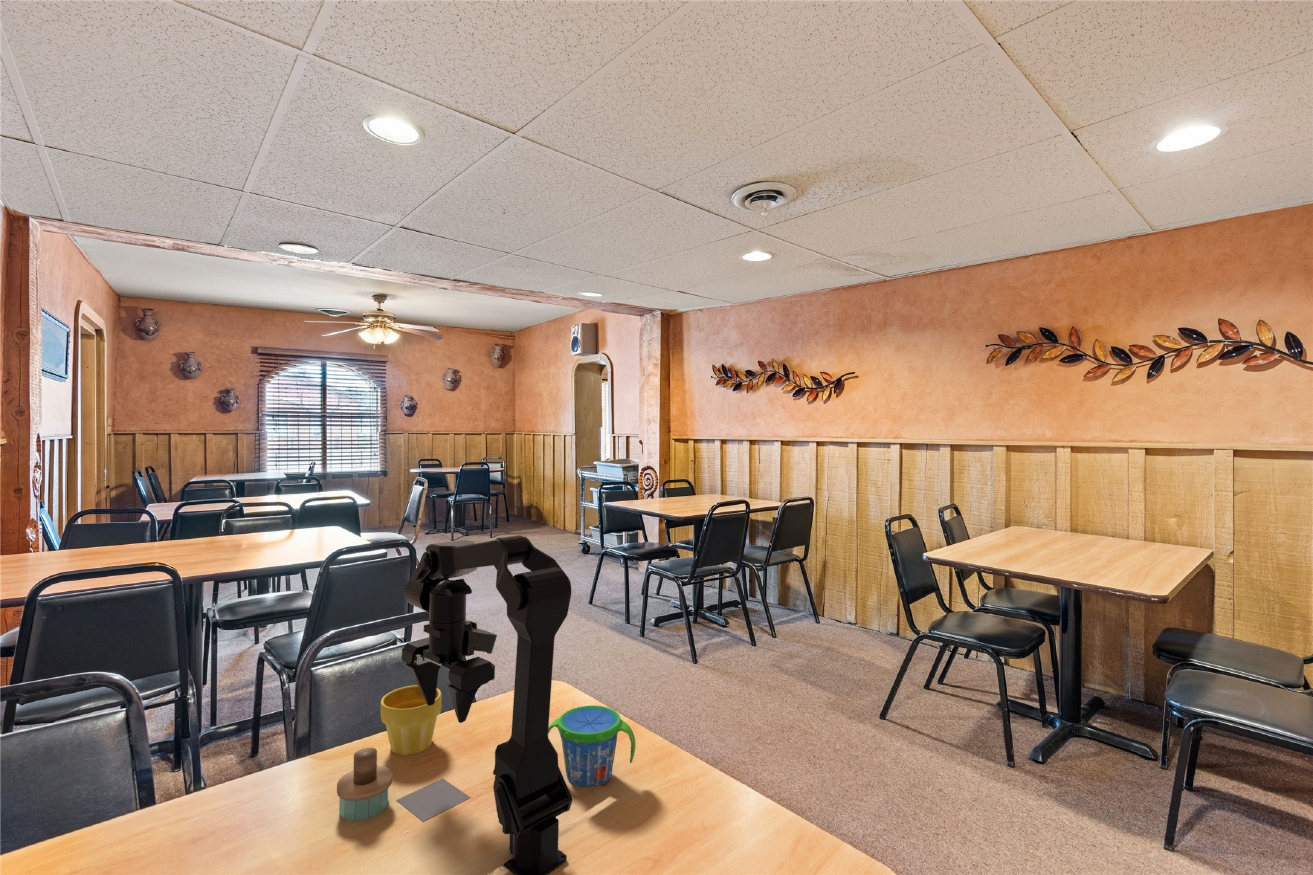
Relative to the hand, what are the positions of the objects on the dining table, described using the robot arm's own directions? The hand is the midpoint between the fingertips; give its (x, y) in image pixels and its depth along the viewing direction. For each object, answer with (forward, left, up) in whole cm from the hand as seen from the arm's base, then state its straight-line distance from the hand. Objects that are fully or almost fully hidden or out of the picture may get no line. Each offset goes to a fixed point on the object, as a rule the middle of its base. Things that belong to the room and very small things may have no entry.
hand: (446, 713), depth 100 cm
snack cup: (-16, -17, -12) cm, 26 cm away
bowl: (+3, +12, -12) cm, 17 cm away
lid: (+3, +12, -8) cm, 15 cm away
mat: (-3, +4, -12) cm, 13 cm away
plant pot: (+15, -2, -12) cm, 19 cm away
